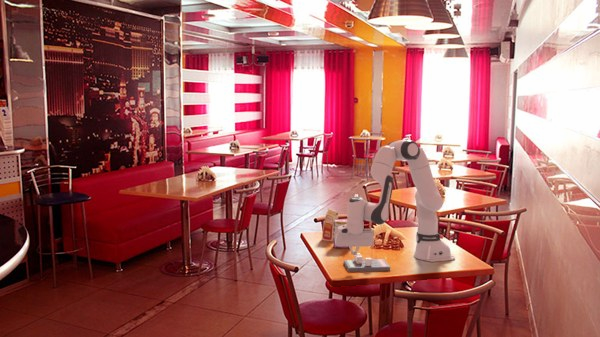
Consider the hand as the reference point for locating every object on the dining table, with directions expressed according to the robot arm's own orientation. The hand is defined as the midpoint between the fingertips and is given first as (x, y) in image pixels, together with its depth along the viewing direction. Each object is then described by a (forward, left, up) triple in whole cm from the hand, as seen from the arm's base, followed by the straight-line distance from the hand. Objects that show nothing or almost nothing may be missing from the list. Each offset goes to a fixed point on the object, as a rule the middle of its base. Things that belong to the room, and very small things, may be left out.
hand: (353, 254), depth 277 cm
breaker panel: (-8, -4, -8) cm, 12 cm away
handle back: (-4, -9, -6) cm, 11 cm away
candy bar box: (-2, -43, -9) cm, 44 cm away
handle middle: (-4, -4, -6) cm, 8 cm away
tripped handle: (-8, 0, -6) cm, 10 cm away
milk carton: (+2, -62, -9) cm, 63 cm away
